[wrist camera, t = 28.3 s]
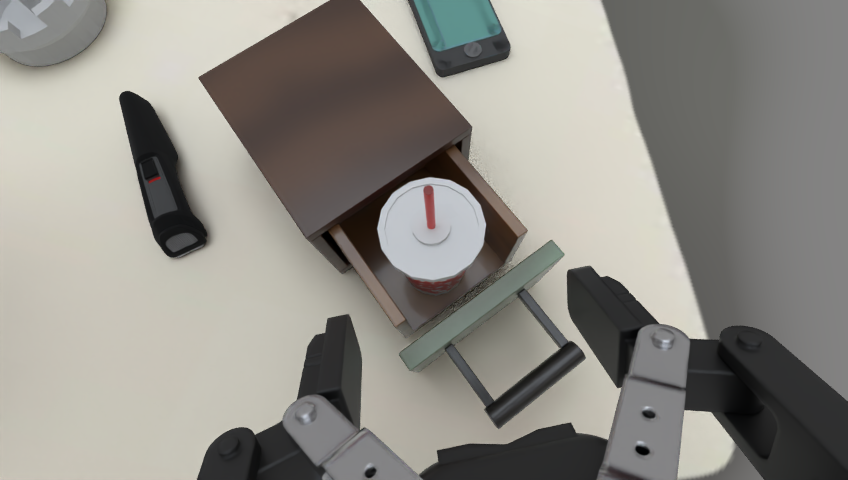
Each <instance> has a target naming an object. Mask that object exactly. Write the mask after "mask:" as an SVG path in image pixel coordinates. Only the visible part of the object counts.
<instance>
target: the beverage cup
mask: <svg viewBox="0 0 848 480" xmlns="http://www.w3.org/2000/svg"><path fill="white" fill-rule="evenodd" d="M485 228H486V223H485V219H484V216H483V212H482V209H481V205H480V204H479V203H478V202H477V200H476V199H475V198H474V197H473V196H472V194H471V193H470V192H469V191H468V190H467V189H466V188H464V187H462V186H460V185H458V184H456V183H455V182H453V181H451V180H446V179H439V178H431V177H429V178H424V179H420V180H415V181H411V182H409V183H407V184H406V185H404V186H403V187H401V188H400V189H398V190H397V191H395V192H394V193H393V194H392V195H391V196H390V198H389V199H388V201H387V202H386V204H385V205H384V206H383V208H382V209H381V214H380V219H379V223H378V228H377V230H378V235H379V240H380V244H381V249H382V251H383V252H384V254H385V255H386V256H387V258H388V259H389V261H390V262H391V263H392V265H393V266H394V267H395V269H397V270H398V271H400V272H402V273H403V274H404V275H405V276H406V277H407V279H408V280H409V282H410V283H411V284H412V286H413V287H414V288H415V289H417V290H419V291H420V292H422V293H424V294H429V295H435V296H436V295H440V294H445V293H448V292H449V291H451V290H452V289H453V288H455V287H456V286H457V285H458V284H459V282H460V280H461V279H462V277H463V275H464V273H465V271H466V269H467V268H469V267H470V266H471V265H472V263H473V262H474V260H475V259H476V257H477V255H478V254H479V252H480V250H481V249H482V247H483V243H484V236H485Z"/></svg>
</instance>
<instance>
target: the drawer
mask: <svg viewBox="0 0 848 480" xmlns="http://www.w3.org/2000/svg"><path fill="white" fill-rule="evenodd" d="M429 177H431V178H439V179H446V180H451V181H453V182H455V183H456V184H458V185H460V186H462V187H464V188H466V189H467V190H468V191H469V192H470V193H471V194H472V196H473V197H474V198H475V199H476V200H477V202H478V203H479V204H480V205H481V209H482V212H483V216H484V219H485V223H486V228H485V236H484V243H483V247H482V249H481V250H480V252H479V254H478V255H477V257H476V259H475V260H474V262H473V263H472V265H471V266H470V267H469V268H467V269H466V271H465V273H464V275H463V277H462V279H461V280H460V282H459V284H458V285H457V286H456V287H455V288H453V289H452V290H451V291H449V292H448V293H445V294H440V295H436V296H435V295H429V294H424V293H422V292H420V291H419V290H417V289H415V288H414V287H413V286H412V284H411V283H410V282H409V280H408V279H407V277H406V276H405V275H404V274H403V273H402V272H400V271H398V270H397V269H395V267H394V266H393V265H392V263H391V262H390V261H389V259H388V258H387V256H386V255H385V254H384V252H383V251H382V249H381V244H380V240H379V235H378V230H377V228H378V223H379V219H380V214H381V209H382V208H383V206H384V205H385V204H386V202H387V201H388V199H389V198H390V196H391V195H392V194H393V193H394V192H395V191H397V190H398V189H400V188H401V187H403V186H404V185H406V184H407V183H409V182H411V181H415V180H420V179H424V178H429ZM328 231H329V233H330V234H331V236H332V237H333V239H334V240H335V241H336V243H337V244H338V246H339V247H340V249H341V250H342V252H343V253H344V254H345V256H346V257H347V259H348V260H349V262H350V263H351V265H352V266H353V267H354V269H355V270H356V272H357V273H358V275H359V276H360V277H361V279H362V280H363V282H364V283H365V285H366V286H367V288H368V289H369V290H370V292H371V293H372V295H373V296H374V298H375V299H376V300H377V302H378V303H379V305H380V306H381V308H382V309H383V311H384V312H385V313H386V315H387V316H388V318H389V319H390V321H391V322H392V324H393V325H394V326H395V328H396V329H397V330H398V331H399V332H400V333H401V334H402V335H403V336H404V337H405V338H407V337H408V336H410V335H411V334H413V333H414V332H415V331H417V330H418V329H419V328H421V327H422V326H423V325H425V324H426V323H427V322H429V321H430V320H431V319H433V318H434V317H435V316H437V315H438V314H440V313H441V312H442V311H444V310H445V309H446V308H448V307H449V306H450V305H452V304H453V303H454V302H456V301H457V300H458V299H460V298H461V297H463V296H464V295H465V294H467V293H468V292H469V291H471V290H472V289H473V288H475V287H476V286H477V285H479V284H480V283H481V282H483V281H484V280H485V279H487V278H488V277H490V276H491V275H492V274H494V273H495V272H496V271H498V270H499V269H500V268H502V267H503V266H504V265H506V264H507V263H508V262H510V261H511V259H512V257H513V256H514V254H515V252H516V250H517V249H518V247H519V245H520V243H521V242H522V240H523V238H524V236H525V235H526V233H527V231H528V230H527V229H526V228H525V227H524V225H523V224H522V223H521V222H520V221H519V220H518V218H517V217H516V216H515V215H514V214H513V213H512V211H511V210H510V209H509V208H508V207H507V206H506V204H505V203H504V202H503V201H502V200H501V199H500V197H499V196H498V195H497V194H496V193H495V192H494V190H493V189H492V188H491V187H490V186H489V185H488V183H487V182H486V181H485V180H484V179H483V178H482V176H481V175H480V174H479V173H478V172H477V171H476V169H475V168H474V167H473V166H472V165H471V164H470V162H469V161H468V160H467V159H466V158H465V157H464V156H463V154H462V153H461V152H460V151H459V150H458V149H457V147H456V146H455V145H453V146H451V147H450V148H448V149H447V150H445V151H444V152H442V153H441V154H439V155H438V156H437V157H435V158H434V159H432V160H431V161H429V162H428V163H426V164H425V165H423V166H422V167H420V168H419V169H417V170H416V171H414V172H413V173H411V174H410V175H408V176H407V177H405V178H404V179H402V180H401V181H399V182H398V183H397V184H395V185H394V186H392V187H391V188H389V189H388V190H386V191H385V192H383V193H382V194H380V195H379V196H377V197H376V198H374V199H373V200H371V201H370V202H368V203H367V204H365V205H364V206H362V207H361V208H359V209H358V210H357V211H355V212H354V213H352V214H351V215H349V216H348V217H346V218H345V219H343V220H342V221H340V222H339V223H337V224H336V225H334V226H333V227H331V228H330V229H328ZM563 256H564V253H563V252H562V251H561V250H560V248H559V247H558V246H557V245H556V244H555V243H554V242H553V240H550V241H549V242H548V243H546V244H545V245H544V246H542V247H541V248H540V249H538V250H537V251H536V252H534V253H533V254H531V255H530V256H529V257H527V258H526V259H525V260H523V261H522V262H521V263H519V264H518V265H517V266H515V267H514V268H513V269H511V270H510V271H509V272H507V273H506V274H505V275H503V276H502V277H501V278H499V279H498V280H497V281H495V282H494V283H493V284H491V285H490V286H488V287H487V288H486V289H484V290H483V291H482V292H480V293H479V294H478V295H476V296H475V297H474V298H472V299H471V300H470V301H468V302H467V303H466V304H464V305H463V306H462V307H460V308H459V309H458V310H456V311H455V312H454V313H452V314H451V315H450V316H448V317H447V318H445V319H444V320H443V321H441V322H440V323H439V324H437V325H436V326H435V327H433V328H432V329H431V330H429V331H428V332H427V333H425V334H424V335H423V336H421V337H420V338H419V339H417V340H416V341H415V342H413V343H412V344H411V345H409V346H408V347H407V348H405V349H404V350H402V351H401V352H400V353H399V356H400V357H401V359H402V360H403V362H404V363H405V364H406V366H407V367H408V369H409V370H410V371H414V372H420V371H421V370H422V369H424V368H425V367H426V366H428V365H429V364H430V363H432V362H433V361H434V360H436V359H437V358H438V357H440V356H441V355H442V354H444V353H445V352H447V353H448V355H449V356H450V358H451V359H452V360H453V362H454V363H455V365H456V366H457V367H458V369H459V370H460V372H461V373H462V374H463V376H464V377H465V378H466V380H467V381H468V383H469V384H470V385H471V387H472V388H473V390H474V391H475V392H476V394H477V395H478V397H479V398H480V399H481V401H482V402H483V403H484V405H485V406H486V408H485V409H484V410H485V412H486V413H487V415H488V416H489V418H490V419H491V420H492V422H493V423H494V425H495V426H496V427H497V428H498V429H499V428H501V427H502V426H503V425H504V424H506V423H507V422H508V421H509V420H511V419H512V418H513V417H514V416H516V415H517V414H518V413H519V412H520V411H522V410H523V409H524V408H525V407H527V406H528V405H529V404H530V403H532V402H533V401H534V400H535V399H537V398H538V397H539V396H540V395H542V394H543V393H544V392H545V391H546V390H548V389H549V388H550V387H551V386H553V385H554V384H555V383H556V382H558V381H559V380H560V379H561V378H563V377H564V376H565V375H566V374H568V373H569V372H570V371H571V370H572V369H574V368H575V367H576V366H577V365H579V364H580V363H581V362H582V361H584V360H585V359H586V357H585V355H584V353H583V351H582V350H581V349H580V348H579V347H578V346H577V345H576V344H575V343H574V342H572V341H569V342H568V341H567V339H566V338H565V337H564V336H563V335H562V333H561V332H560V331H559V330H558V328H557V327H556V326H555V325H554V324H553V322H552V321H551V320H550V319H549V317H548V316H547V315H546V314H545V313H544V311H543V310H542V309H541V308H540V306H539V305H538V304H537V303H536V302H535V300H534V299H533V298H532V297H531V295H530V294H529V293H528V292H527V290H528V289H529V288H531V287H532V286H533V285H535V284H536V283H537V282H538V281H539V280H540V279H541V278H542V277H543V276H544V275H545V274H546V273H547V272H548V271H549V270H550V269H551V268H552V267H553V266H554V265H555V264H556V263H557V262H558V261H559V260H560V259H561V258H562V257H563ZM517 297H519V299H520V300H521V301H522V302H523V304H524V305H525V306H526V307H527V308H528V310H529V311H530V312H531V313H532V315H533V316H534V317H535V318H536V320H537V321H538V322H539V323H540V325H541V326H542V327H543V328H544V330H545V331H546V332H547V333H548V334H549V336H550V337H551V338H552V339H553V341H554V342H555V343H556V344H557V346H558V347H559V348H560V349H559V350H558V351H556V352H555V353H554V354H553V355H551V356H550V357H549V358H548V359H546V360H545V361H544V362H543V363H541V364H540V365H539V366H538V367H536V368H535V369H534V370H533V371H531V372H530V373H529V374H527V375H526V376H525V377H524V378H522V379H521V380H520V381H519V382H517V383H516V384H515V385H514V386H512V387H511V388H510V389H509V390H507V391H506V392H505V393H504V394H502V395H501V396H500V397H499V398H497V399H496V400H495V401H494V400H493V399H492V397H491V396H490V395H489V393H488V392H487V391H486V389H485V388H484V386H483V385H482V384H481V382H480V381H479V380H478V378H477V377H476V375H475V374H474V373H473V371H472V370H471V369H470V367H469V366H468V364H467V363H466V362H465V360H464V359H463V358H462V356H461V355H460V353H459V352H458V351H457V349H456V348H455V347H454V345H455V344H457V343H458V342H459V341H461V340H462V339H463V338H465V337H466V336H467V335H469V334H470V333H471V332H473V331H474V330H475V329H476V328H478V327H479V326H480V325H482V324H483V323H484V322H486V321H487V320H488V319H490V318H491V317H492V316H494V315H495V314H496V313H498V312H499V311H500V310H502V309H503V308H504V307H506V306H507V305H508V304H509V303H511V302H512V301H513V300H515V299H516V298H517Z"/></svg>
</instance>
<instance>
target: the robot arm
mask: <svg viewBox="0 0 848 480" xmlns="http://www.w3.org/2000/svg"><path fill="white" fill-rule="evenodd" d="M567 300H568V310H569V314H570V317H571V319H572V321H573V323H574V324H575V326H576V327H577V329H578V330H579V332H580V333H581V335H582V336H583V338H584V339H585V340H586V342H587V343H588V345H589V346H590V348H591V349H592V351H593V352H594V354H595V355H596V357H597V358H598V360H599V361H600V363H601V364H602V366H603V367H604V369H605V370H606V372H607V373H608V375H609V376H610V378H611V379H612V381H613V382H614V384H615V385H616V387H617V388H620V387H622V388H621V392H620V396H619V400H618V404H617V408H616V412H615V416H614V420H613V424H612V428H611V432H610V436H609V440H606V439H603V438H601V437H597V436H593V435H589V434H582V433H576V432H575V430H574V428H573V426H572V424H571V423H566V424H561V425H556V426H552V427H547V428H542V429H538V430H536V431H534V432H532V433H530V434H527V435H525V436H523V437H521V438H519V439H517V440H515V441H513V442H511V443H509V444H466V445H461V446H456V447H452V448H447V449H442V450H437V454H438V461H439V462H437V463H435V464H433V465H431V466H430V467H428V468H427V469H425V470H424V471H423V472H422V473H420V474H419V475H418V474H417V473H415V472H414V471H413V470H412V469H411V468H410V467H409V466H408V465H407V464H406V463H405V462H404V461H402V460H401V459H400V458H399V457H398V456H397V455H396V454H395V453H394V452H393V451H392V450H391V449H389V448H388V447H387V446H386V445H385V444H384V443H383V442H382V441H381V440H380V439H379V438H378V437H376V436H375V435H374V434H373V433H372V432H371V431H370V430H369V429H367V428H363V429H361V430H360V410H361V379H362V357H361V351H360V347H359V344H358V340H357V337H356V334H355V331H354V327H353V324H352V321H351V318H350V316H349V314H346V315H341V316H336V317H331V318H328V319H327V325H326V331H325V333H323V334H318V335H315V336H314V338H313V339H312V341H311V342H310V344H309V345H308V347H307V352H306V359H305V362H304V368H303V372H302V377H301V382H300V387H299V392H298V397H297V400H296V401H295V402H294V403H292V404H291V405H290V406H289V407H288V409H287V410H286V412H285V413H284V416H283V420H282V421H281V422H279V423H278V424H276V425H274V426H272V427H270V428H268V429H266V430H264V431H262V432H260V433H258V434H256V435H254V433H253V431H252V430H250V429H248V428H244V427H239V428H235V429H231V430H229V431H227V432H225V433H223V434H222V435H221V436H219V437H218V438H217V439H216V440H215V441H214V442H213V443H212V444H211V445H210V446H209V448H208V450H207V452H206V454H205V457H204V460H203V463H202V466H201V469H200V472H199V475H198V478H197V480H677V474H678V464H679V455H680V445H681V435H682V425H683V416H684V410H693V411H707V412H712V414H713V415H714V416H715V417H716V419H717V420H718V421H719V423H720V424H721V425H722V426H723V428H724V429H725V430H726V431H727V433H728V434H729V435H730V437H731V438H732V439H733V440H734V442H735V443H736V444H737V445H738V447H739V448H740V449H741V451H742V452H743V453H744V454H745V456H746V457H747V458H748V460H750V462H751V463H752V464H753V466H754V467H755V468H756V470H757V471H758V472H759V474H760V475H761V476H762V477H763V479H764V480H848V401H846V400H845V399H844V398H843V397H842V396H841V395H840V394H838V393H837V392H836V391H835V390H834V389H832V388H831V387H830V386H829V385H828V384H827V383H826V382H824V381H823V380H822V379H821V378H820V377H818V375H816V374H815V373H814V372H813V371H812V370H811V369H809V368H808V367H807V366H806V365H805V364H804V363H802V362H801V361H800V360H799V359H798V358H797V357H795V356H794V355H793V354H792V353H791V352H789V350H787V349H786V348H785V347H784V346H782V344H780V343H779V342H778V341H777V340H776V339H775V338H773V337H772V336H771V335H769V334H768V333H766V332H764V331H762V330H759V329H756V328H753V327H748V326H731V327H728V328H725V329H724V330H723V331H722V332H721V334H720V339H719V340H704V339H689V338H688V337H687V335H686V334H685V333H683V332H682V331H681V330H679V329H677V328H675V327H672V326H669V325H664V324H659V323H658V322H657V321H656V319H655V318H654V317H653V316H652V315H651V314H650V313H649V312H648V311H647V310H646V309H645V308H644V307H643V306H642V305H641V304H640V303H639V302H638V301H636V298H635V297H634V296H633V295H632V294H631V293H629V291H628V290H627V289H626V288H625V287H624V286H623V285H622V284H621V283H620V282H618V281H616V280H614V279H612V278H610V277H608V276H605V277H600V276H599V275H598V274H597V273H596V272H595V270H594V269H593V268H592V267H591V266H585V267H580V268H575V269H570V270H568V272H567Z"/></svg>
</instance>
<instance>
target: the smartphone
mask: <svg viewBox="0 0 848 480" xmlns="http://www.w3.org/2000/svg"><path fill="white" fill-rule="evenodd" d="M408 1H409V3H410V6H411V8H412V11H413V13H414V16H415V19H416V21H417V24H418V26H419V29H420V32H421V34H422V37H423V39H424V42H425V44H426V47H427V50H428V52H429V55H430V57H431V60H432V62H433V65H434V68H435V70H436V73H437V74H438V75H439V76H441V77H445V76H449V75H452V74H455V73H459V72H462V71H466V70H469V69H472V68H476V67H479V66H483V65H486V64H489V63H493V62H496V61H500V60H503V59H506V58H507V57H508V55H509V51H510V43H509V41H508V39H507V37H506V34H505V32H504V30H503V28H502V26H501V24H500V21H499V19H498V17H497V15H496V13H495V11H494V8H493V6H492V4H491V2H490V0H408Z"/></svg>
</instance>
